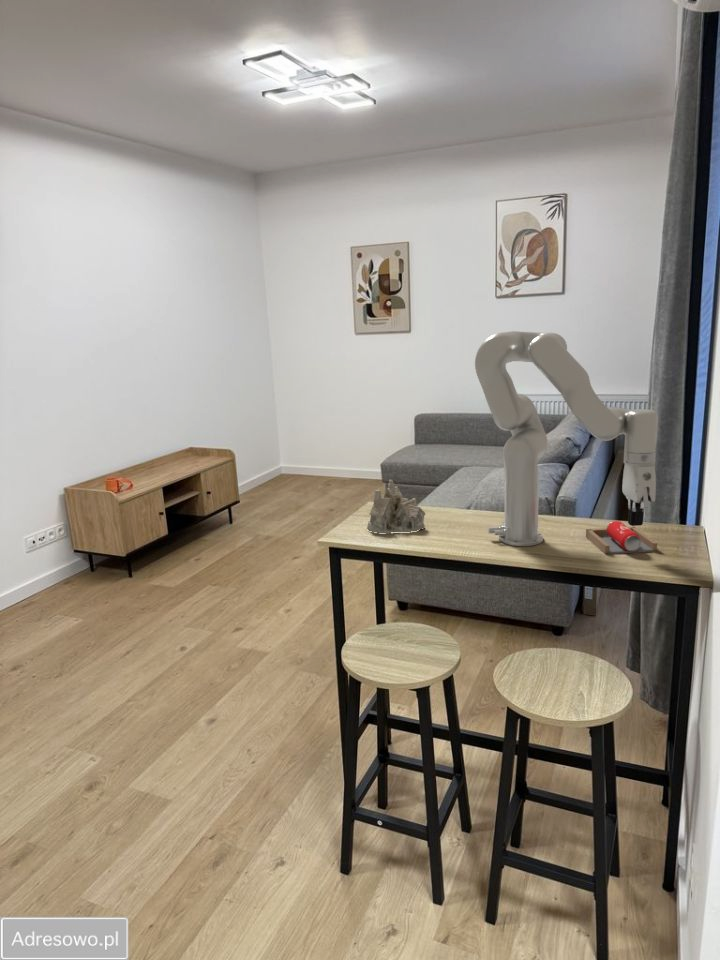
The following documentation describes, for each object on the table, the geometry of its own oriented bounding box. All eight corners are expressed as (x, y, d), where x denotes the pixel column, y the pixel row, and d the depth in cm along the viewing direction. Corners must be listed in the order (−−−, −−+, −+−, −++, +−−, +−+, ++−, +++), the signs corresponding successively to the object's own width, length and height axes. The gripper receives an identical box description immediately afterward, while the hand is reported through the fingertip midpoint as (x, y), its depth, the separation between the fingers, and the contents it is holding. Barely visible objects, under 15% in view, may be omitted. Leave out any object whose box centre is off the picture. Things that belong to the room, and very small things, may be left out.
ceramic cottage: (359, 528, 206) (361, 483, 202) (398, 518, 216) (400, 475, 212) (392, 543, 194) (394, 495, 190) (431, 532, 204) (433, 486, 200)
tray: (604, 554, 176) (605, 545, 175) (585, 537, 189) (586, 529, 189) (656, 551, 176) (657, 543, 175) (633, 534, 189) (634, 526, 189)
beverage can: (641, 551, 175) (623, 536, 186) (642, 533, 173) (624, 519, 185) (622, 553, 175) (605, 537, 186) (623, 535, 173) (606, 520, 185)
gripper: (668, 463, 160) (662, 533, 165) (640, 450, 175) (636, 515, 179) (638, 464, 160) (633, 534, 165) (613, 452, 175) (609, 516, 179)
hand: (635, 524), depth 172 cm, fingers closed
